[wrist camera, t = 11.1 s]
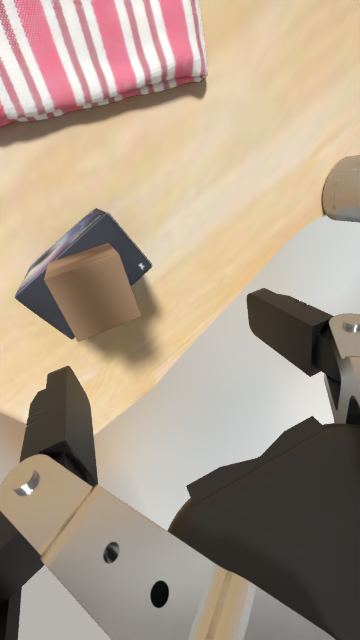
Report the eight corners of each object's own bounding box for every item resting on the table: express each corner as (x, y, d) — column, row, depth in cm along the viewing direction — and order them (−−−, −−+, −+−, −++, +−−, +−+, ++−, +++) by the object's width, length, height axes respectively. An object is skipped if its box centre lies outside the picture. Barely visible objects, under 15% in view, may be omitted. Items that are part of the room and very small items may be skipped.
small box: (94, 203, 29) (107, 206, 20) (132, 247, 33) (157, 266, 24) (25, 266, 29) (9, 296, 20) (71, 303, 33) (74, 343, 24)
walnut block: (108, 242, 22) (118, 254, 17) (128, 295, 24) (141, 316, 20) (48, 262, 20) (44, 279, 16) (75, 315, 23) (77, 341, 19)
